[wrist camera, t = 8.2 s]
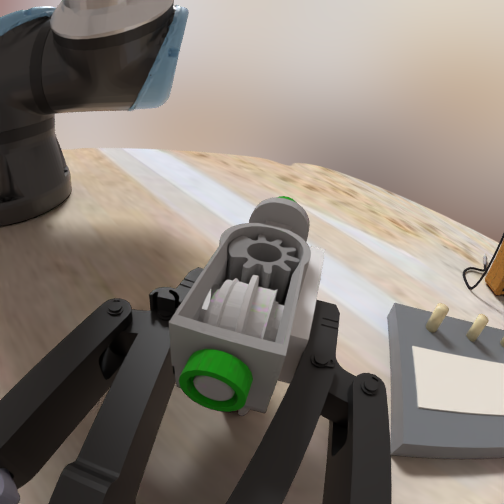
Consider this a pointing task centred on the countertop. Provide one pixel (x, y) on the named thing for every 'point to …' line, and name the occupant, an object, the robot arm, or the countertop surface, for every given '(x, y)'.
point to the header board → (445, 385)
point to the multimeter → (492, 271)
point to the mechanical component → (243, 311)
